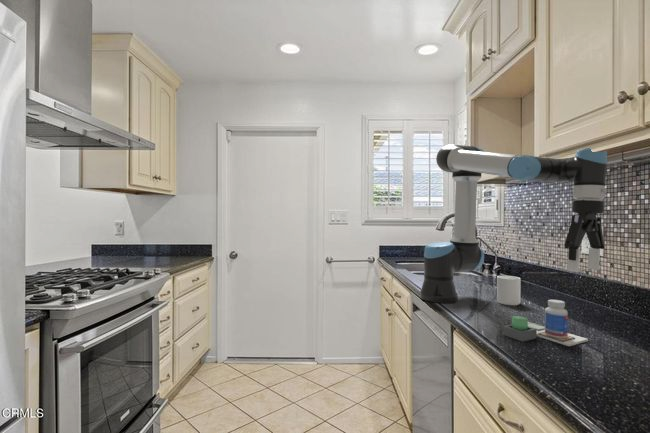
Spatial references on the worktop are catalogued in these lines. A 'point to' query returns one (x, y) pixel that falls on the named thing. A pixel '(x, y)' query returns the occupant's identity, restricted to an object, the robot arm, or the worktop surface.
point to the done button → (520, 323)
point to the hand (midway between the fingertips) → (583, 270)
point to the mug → (508, 290)
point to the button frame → (519, 333)
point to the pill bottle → (556, 319)
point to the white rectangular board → (567, 341)
